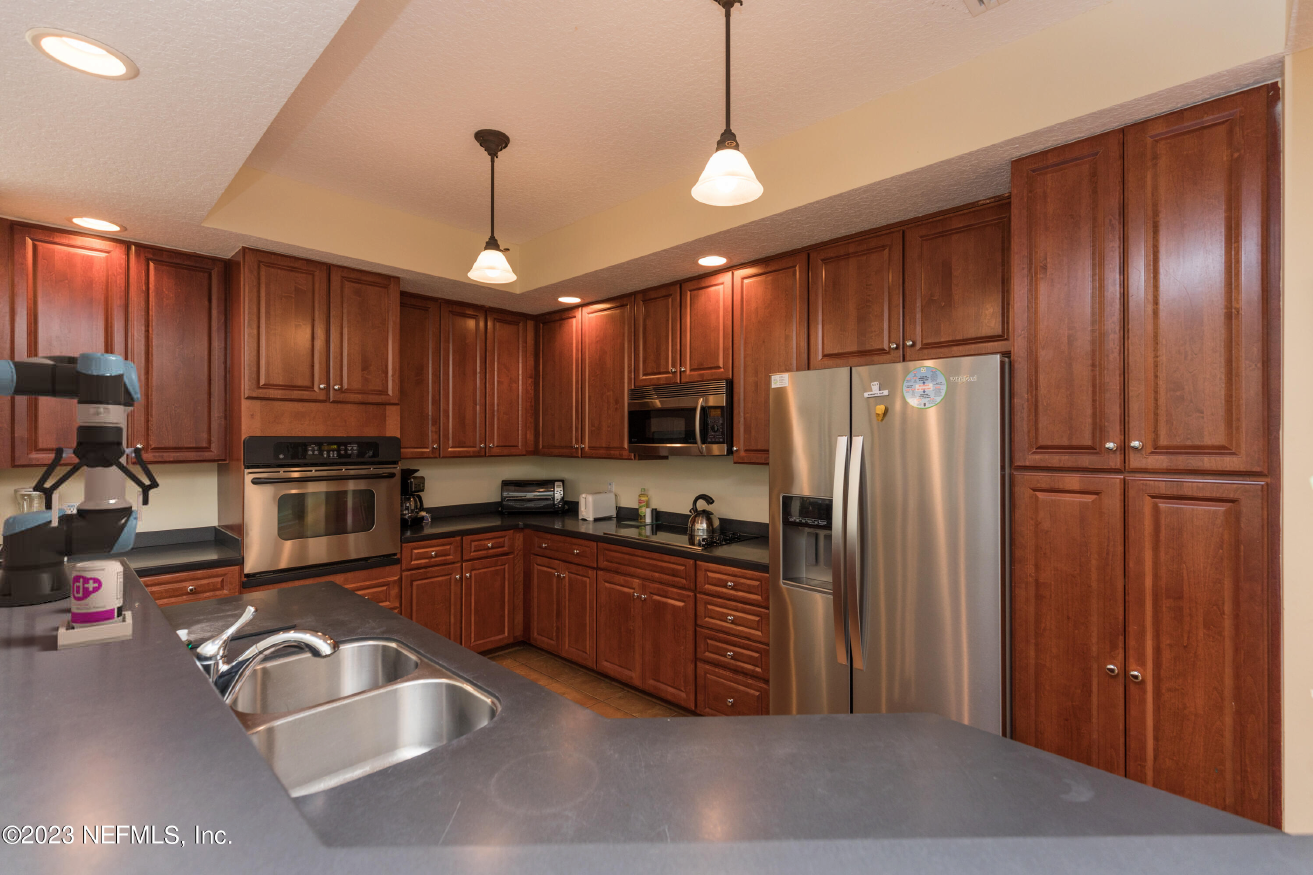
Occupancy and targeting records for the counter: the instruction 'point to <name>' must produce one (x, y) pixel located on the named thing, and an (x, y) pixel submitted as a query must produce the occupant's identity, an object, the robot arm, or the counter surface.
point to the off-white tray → (94, 633)
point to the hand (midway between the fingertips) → (98, 523)
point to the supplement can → (96, 594)
